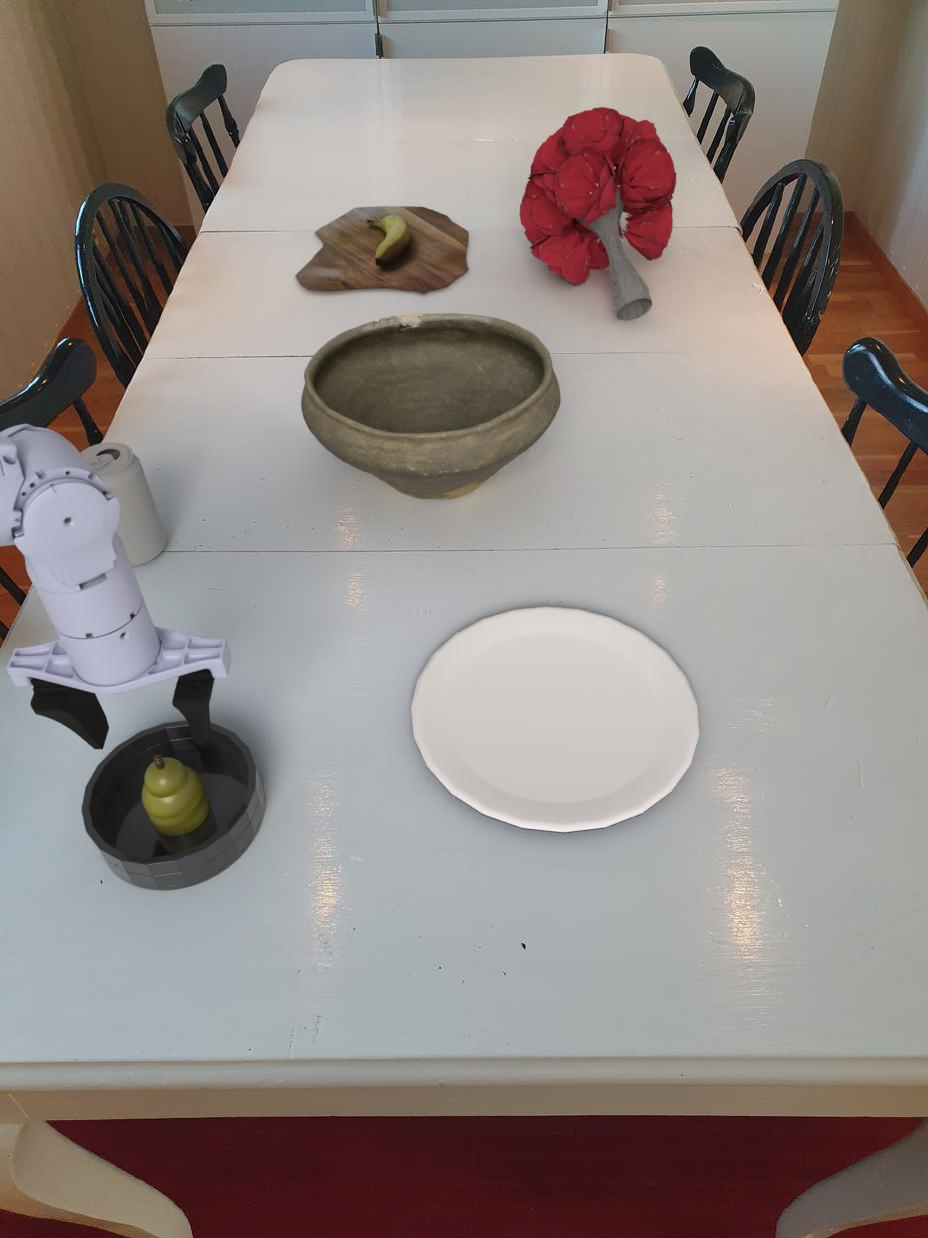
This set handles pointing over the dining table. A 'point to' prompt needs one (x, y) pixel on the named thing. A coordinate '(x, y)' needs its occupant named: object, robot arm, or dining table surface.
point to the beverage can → (129, 500)
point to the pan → (129, 830)
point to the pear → (174, 797)
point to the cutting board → (387, 250)
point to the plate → (555, 719)
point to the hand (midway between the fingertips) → (153, 736)
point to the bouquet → (600, 201)
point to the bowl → (431, 399)
